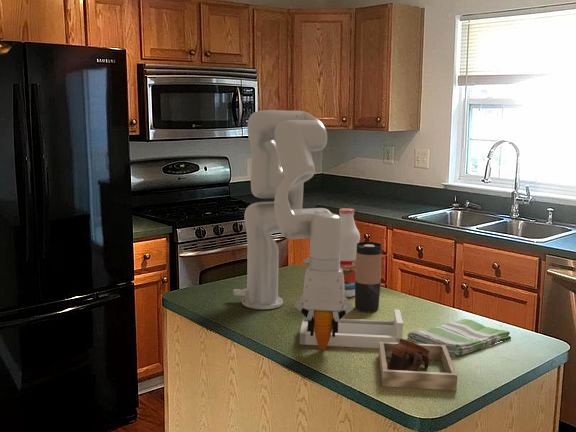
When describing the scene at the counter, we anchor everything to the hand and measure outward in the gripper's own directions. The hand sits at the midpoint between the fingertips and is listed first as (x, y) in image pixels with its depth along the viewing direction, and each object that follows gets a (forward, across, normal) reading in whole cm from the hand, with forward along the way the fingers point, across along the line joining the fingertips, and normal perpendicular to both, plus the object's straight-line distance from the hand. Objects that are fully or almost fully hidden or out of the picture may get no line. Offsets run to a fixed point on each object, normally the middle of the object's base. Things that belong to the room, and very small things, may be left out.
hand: (322, 333), depth 160 cm
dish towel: (+5, +36, +14) cm, 39 cm away
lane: (+4, +7, +9) cm, 12 cm away
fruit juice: (+5, +5, +51) cm, 51 cm away
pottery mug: (+5, +21, -10) cm, 23 cm away
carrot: (+5, 0, 0) cm, 5 cm away
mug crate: (+4, +22, -10) cm, 25 cm away
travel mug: (+5, +12, +36) cm, 38 cm away
